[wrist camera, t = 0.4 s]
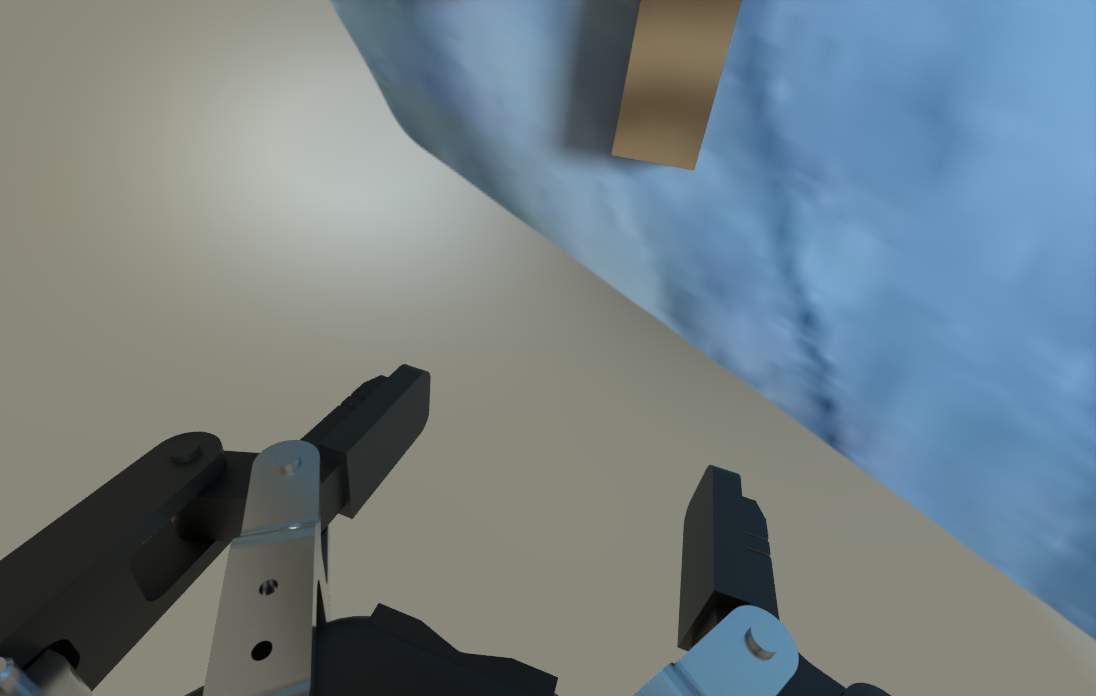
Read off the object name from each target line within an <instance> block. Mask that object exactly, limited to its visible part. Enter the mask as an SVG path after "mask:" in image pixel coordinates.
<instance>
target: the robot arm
mask: <svg viewBox="0 0 1096 696" xmlns="http://www.w3.org/2000/svg"><path fill="white" fill-rule="evenodd" d="M429 401H430V373H429V372H427V371H424V370H421V369H418V368H415V367H412V366H409V365H406V364H403V365H401V366H400V367H399V368H398V369H397V370H396V371H395V372H393V373H392V374H391V375H390V376H389V377H385V376H382V375H380V376H378V377H376V378H374V379H371V380H369V381H367V382H365V383H363V384H362V385H361V386H360V387H359V388H358V389H356V390H355V391H354V392H353V393H352V394H351V396H349V397H347V398H346V399H345V400H344V401H343V402H342V403H341V405H340V406H337V407H336V408H335V409H334V410H333V411H332V412H331V413H330V414H328V415H327V416H326V417H325V418H324V419H323V420H322V421H321V422H320V423H318V424H317V425H316V426H315V427H314V428H313V429H312V430H311V431H310V432H309V433H307V434H306V435H305V436H304V437H303V438H302V439H300V440H288V441H283V442H279V443H276V444H274V445H271V446H269V447H268V448H266V449H265V450H263V451H262V452H261V453H250V452H235V451H224V450H223V447H222V443H221V441H220V439H219V438H218V437H217V436H215V435H213V434H211V433H207V432H189V433H184V434H180V435H177V436H174V437H171V438H169V439H167V440H165V441H163V442H162V443H160V444H159V445H158V446H156V447H155V448H153V449H152V450H151V451H149V452H148V453H146V454H145V455H144V456H142V457H141V458H140V459H138V460H137V461H136V462H134V463H133V464H131V465H130V466H129V467H127V468H126V469H125V470H123V471H122V472H120V473H119V474H118V475H116V476H115V477H114V478H112V479H111V480H110V481H108V482H107V483H105V484H104V485H103V486H101V487H100V488H99V489H97V490H96V491H95V492H93V493H92V494H90V495H89V496H88V497H86V498H85V499H84V500H82V501H81V502H80V503H78V504H77V505H76V506H74V507H73V508H71V509H70V510H69V511H68V512H66V513H65V514H63V515H62V516H61V517H59V518H58V519H56V520H55V521H54V522H52V523H51V524H50V525H48V526H47V527H45V528H44V529H43V530H41V531H40V532H39V533H37V534H36V535H35V536H33V537H32V538H30V539H29V540H28V541H26V542H25V543H24V544H22V545H21V546H20V547H18V548H17V549H15V550H14V551H13V552H12V553H10V554H9V555H7V556H6V557H5V558H3V559H2V560H0V696H92V694H91V692H92V691H93V689H94V688H95V687H96V686H97V685H98V684H99V683H100V682H101V681H102V680H103V679H104V678H105V676H106V675H107V674H108V673H109V672H110V671H111V670H112V669H113V668H114V667H115V666H116V665H117V664H118V663H119V662H120V661H121V659H122V658H123V657H124V656H125V655H126V654H127V653H128V652H129V651H130V650H131V649H132V647H134V646H135V644H136V643H137V642H138V641H139V640H140V639H141V638H142V637H143V636H144V635H145V634H146V633H147V632H148V630H149V629H150V628H151V627H152V626H153V625H154V624H155V623H156V622H157V621H158V620H159V618H161V617H162V615H163V614H164V613H165V612H166V611H167V610H168V609H169V608H170V607H171V606H172V605H173V604H174V602H175V601H176V600H177V599H178V598H179V597H180V596H181V595H182V594H183V593H184V592H185V591H186V590H187V589H188V587H189V586H190V585H191V584H192V583H193V582H194V581H195V580H196V579H197V578H198V577H199V576H200V575H201V573H202V572H203V571H204V570H205V569H206V568H207V567H208V566H209V565H210V564H211V563H212V562H213V561H214V560H215V558H216V557H217V556H218V555H219V554H220V553H221V552H222V551H223V550H224V549H225V548H226V547H227V546H228V545H229V544H230V542H231V545H230V549H229V554H228V559H227V565H226V571H225V576H224V581H223V587H222V592H221V598H220V603H219V609H218V614H217V620H216V625H215V631H214V636H213V642H212V647H211V652H210V659H209V664H208V669H207V674H206V680H205V685H204V686H202V687H200V688H198V689H197V690H195V691H193V692H191V693H189V694H187V695H185V696H558V695H557V694H555V693H554V692H555V688H556V684H557V680H558V677H556V676H553V675H551V674H548V673H546V672H544V671H541V670H539V669H536V668H534V667H532V666H529V665H527V664H524V663H522V662H519V661H517V660H515V659H512V658H504V657H495V656H486V655H477V654H468V653H462V652H459V651H458V650H456V649H455V648H454V647H452V646H451V645H450V644H449V643H448V642H446V641H445V640H444V639H443V638H442V637H440V636H439V635H438V634H437V633H435V632H434V631H433V630H432V629H431V628H429V627H428V626H427V625H426V624H424V623H423V622H422V621H421V620H418V619H416V618H414V617H411V616H409V615H407V614H404V613H402V612H399V611H397V610H395V609H392V608H390V607H387V606H385V605H382V604H380V603H379V604H378V605H377V607H376V608H375V610H374V612H373V613H372V615H371V616H352V617H346V618H340V619H336V620H333V621H331V611H330V595H329V523H330V522H331V521H332V520H333V518H335V516H336V515H337V514H341V515H344V516H346V517H349V518H351V519H353V518H354V516H355V515H356V514H357V513H358V511H359V510H360V508H361V507H362V506H363V505H364V504H365V502H366V501H367V500H368V499H369V497H370V496H371V495H372V494H373V492H374V491H375V490H376V489H377V487H378V486H379V485H380V484H381V482H382V481H383V480H384V479H385V477H386V476H387V475H388V474H389V472H390V471H391V470H392V469H393V467H394V466H395V465H396V464H397V462H398V461H399V460H400V459H401V457H402V456H403V455H404V454H405V452H406V451H407V450H408V449H409V447H410V446H411V445H412V444H413V442H414V441H415V440H416V438H417V437H418V436H419V435H420V434H421V432H422V430H423V429H424V427H425V425H426V422H427V419H428V416H429ZM170 519H171V520H170ZM161 527H162V528H161ZM160 528H161V529H160ZM151 536H152V537H151ZM678 647H679V648H681V649H684V650H686V651H688V652H687V653H686V654H685V655H684V656H683V657H682V658H681V659H679V660H678V661H677V662H676V663H674V664H673V663H670V664H668V665H667V666H666V667H664V668H663V669H662V670H661V671H660V672H659V673H658V674H656V675H655V676H654V677H653V678H652V679H651V680H650V681H649V682H648V683H646V684H645V686H643V687H642V688H641V689H640V690H639V691H638V692H637V693H635V694H634V695H633V696H891V695H889V694H888V693H886V692H885V691H883V690H882V689H880V688H878V687H876V686H873V685H870V684H867V683H855V684H852V685H851V686H849V687H848V688H847V689H846V688H845V687H843V686H842V685H841V684H839V683H838V682H836V681H835V680H833V679H832V678H830V677H829V676H828V675H826V674H825V673H823V672H822V671H821V670H819V669H818V668H816V667H815V666H813V665H812V664H811V663H809V662H808V661H807V660H806V659H805V658H804V657H803V656H802V655H801V654H800V653H799V652H798V651H797V647H796V644H795V642H794V640H793V638H792V636H791V635H790V633H789V631H788V630H787V629H786V627H785V626H784V625H783V624H782V623H781V622H780V620H779V615H778V608H777V600H776V593H775V585H774V578H773V570H772V562H771V558H770V547H769V542H768V532H767V524H766V519H765V517H764V516H763V513H762V512H761V510H760V508H759V506H758V504H757V503H756V501H755V500H752V499H748V498H746V497H743V496H742V489H741V478H740V475H739V474H737V473H734V472H731V471H728V470H725V469H722V468H719V467H715V466H713V465H709V466H708V467H707V469H706V471H705V473H704V475H703V477H702V479H701V481H700V483H699V485H698V487H697V489H696V491H695V493H694V495H693V497H692V499H691V501H690V503H689V506H688V508H687V511H686V516H685V521H684V532H683V551H682V571H681V589H680V608H679V628H678Z"/></svg>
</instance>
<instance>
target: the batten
mask: <svg viewBox="0 0 1096 696" xmlns="http://www.w3.org/2000/svg"><path fill="white" fill-rule="evenodd" d="M741 1H742V0H641V2H640V7H639V12H638V17H637V23H636V28H635V33H634V38H633V44H632V49H631V54H630V59H629V65H628V70H627V75H626V80H625V86H624V91H623V96H622V101H621V107H620V112H619V117H618V122H617V128H616V133H615V138H614V144H613V149H612V154H611V155H614V156H619V157H624V158H630V159H635V160H640V161H646V162H651V163H657V164H662V165H667V166H673V167H678V168H683V169H689V170H694V169H695V166H696V162H697V159H698V155H699V151H700V148H701V144H702V141H703V137H704V134H705V130H706V126H707V123H708V119H709V116H710V112H711V109H712V105H713V101H714V98H715V94H716V91H717V87H718V84H719V80H720V76H721V73H722V69H723V66H724V62H725V58H726V55H727V51H728V48H729V44H730V41H731V37H732V33H733V30H734V26H735V23H736V19H737V16H738V12H739V8H740V5H741Z"/></svg>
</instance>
